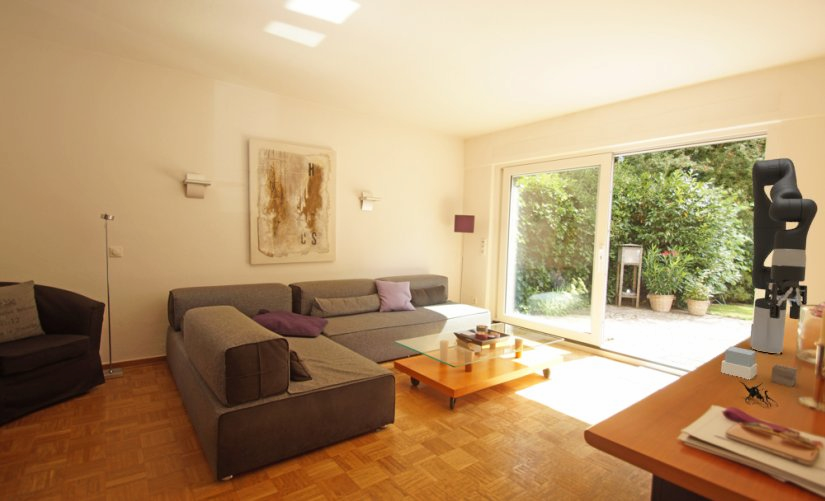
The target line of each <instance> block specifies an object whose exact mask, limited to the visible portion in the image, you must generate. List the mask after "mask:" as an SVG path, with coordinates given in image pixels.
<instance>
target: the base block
mask: <svg viewBox="0 0 825 501" xmlns="http://www.w3.org/2000/svg"><path fill="white" fill-rule="evenodd" d="M721 372H722V373H721ZM757 372H758V363H756V362H755V364H754V365H752V366H751V367H746V366H741V365H737V364H732V363H728V362H725V359H723V360H722V361H721V368H720V373H721V374H724V373H725V374H726V375H728V374H729V375H728V376H732V375H733V377H736V376H738V377H737V378H740V377H742V378H741V379H744V378H745V379H744V380H748V379H749V380H748V381H750V379H751V380H752V379H753V378H755V377H756V376H757V375H758V374H757ZM755 375H756V376H755ZM754 376H755V377H754Z"/></svg>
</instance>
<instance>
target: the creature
mask: <svg viewBox="0 0 825 501" xmlns="http://www.w3.org/2000/svg"><path fill="white" fill-rule="evenodd" d="M739 382H740V383H741V384H742V385H743V386H744V388H745V390H746V391H747V392H748V393H749V395H748V396H746V398H745V402H746V403H748V401H750V398H752V399H753V398H755V397H756V399H757V400H759V401H760V402H763V403H764V404H765V405H766V407H769V406H770V407H772V404H771V402H770V401H772V402H774V403H776V401H775V400H773V399H772V398H771V397H770V396H769V395H768V394H767V393H768V392H769V390H764V395H762V393H761V392H760V391H763V389H765V388H764V387H763V388H761V389H759V387H760V386H762V385H763V384H764V382H760V384H759V385H756V386H752V387H751V388H750V387H748V386H747V385H746V384H745V383H744V382H743V381H741V380H739ZM747 400H748V401H747ZM769 400H770V401H769ZM750 402H751V401H750ZM754 404H755V402H752V403H751V404H750V403H748V405H750V406H751V405H754ZM776 407H779V404H778V403H776Z"/></svg>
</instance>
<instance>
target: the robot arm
mask: <svg viewBox="0 0 825 501" xmlns="http://www.w3.org/2000/svg"><path fill="white" fill-rule="evenodd" d="M751 177H752V194H753V220H752V228H753V229H752V234H753V261H752V274H751V275H752V276H751V283H752V286H753V287H754V288H755V289H757V290H763V291H764V297H758V298H756V299H755V301H754V307H753V308H754V309H753V321H752V322H753V323H751V324H750V325H751V326H750V327H751V328H750V338H749V339H750V340H749V346H750V345H751V347H753V348H755V349H757V350H761V351H765V352H774V353H779V352H782V353H783V349H784V336H785V327H786V319H787V318H786V317H787V302H788V304H789V305H790V307H789V315H788V316H789V319H793V320H800V316H801V315H800V314H801V308H802V307H803V306H806V305H807V304H808V302H807V300H808V285H804V284H803V285H802V284H800V282H802V283H803V282H805V280H806V270H807V269H806V268H807V254H806V253H807V252H806V250H807V239H808V234H809V231H810V228H811V226H812V223H813V221H814V220H815V217H816V215H817V213H818V204H817V203H816V201H815V200H813V199H811V198H803V195H802V193H801V191H800V189H799V187H798V182H797V179H798V178H797V173H796V169H795V165H794V162H793V160H791V159H790V158H786V157H781V158H774V159H767V160H764V159H763V160H759V161H755V162H754V163H753V165H752V169H751ZM765 187H771V188H770V191H769V196H768V194H767V193H766V190H765ZM769 197H770V198H769ZM787 223H797V226H796V227H794V228H789V229H787ZM771 253H772V257H771V266H765V263H766V262H765V261H766V260H767V258H768V257H769V256H770V254H771ZM751 347H750V348H751Z"/></svg>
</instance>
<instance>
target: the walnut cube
mask: <svg viewBox="0 0 825 501" xmlns="http://www.w3.org/2000/svg"><path fill="white" fill-rule="evenodd" d="M797 371H798V369H797V368H794V367H789V366H785V365H781V364H775V365H773V366H772V369H771V377H770V378H771V379H770V382H771V383H773V382H775V383H774V384H777V383H778V385H781V384H782V385H783V386H785V385H786V387H789V386H790V388H793V387H794V386H795V385H796V383H797V382H796V381H797V373H798V372H797ZM794 384H795V385H794ZM793 385H794V386H793ZM792 386H793V387H792Z"/></svg>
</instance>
